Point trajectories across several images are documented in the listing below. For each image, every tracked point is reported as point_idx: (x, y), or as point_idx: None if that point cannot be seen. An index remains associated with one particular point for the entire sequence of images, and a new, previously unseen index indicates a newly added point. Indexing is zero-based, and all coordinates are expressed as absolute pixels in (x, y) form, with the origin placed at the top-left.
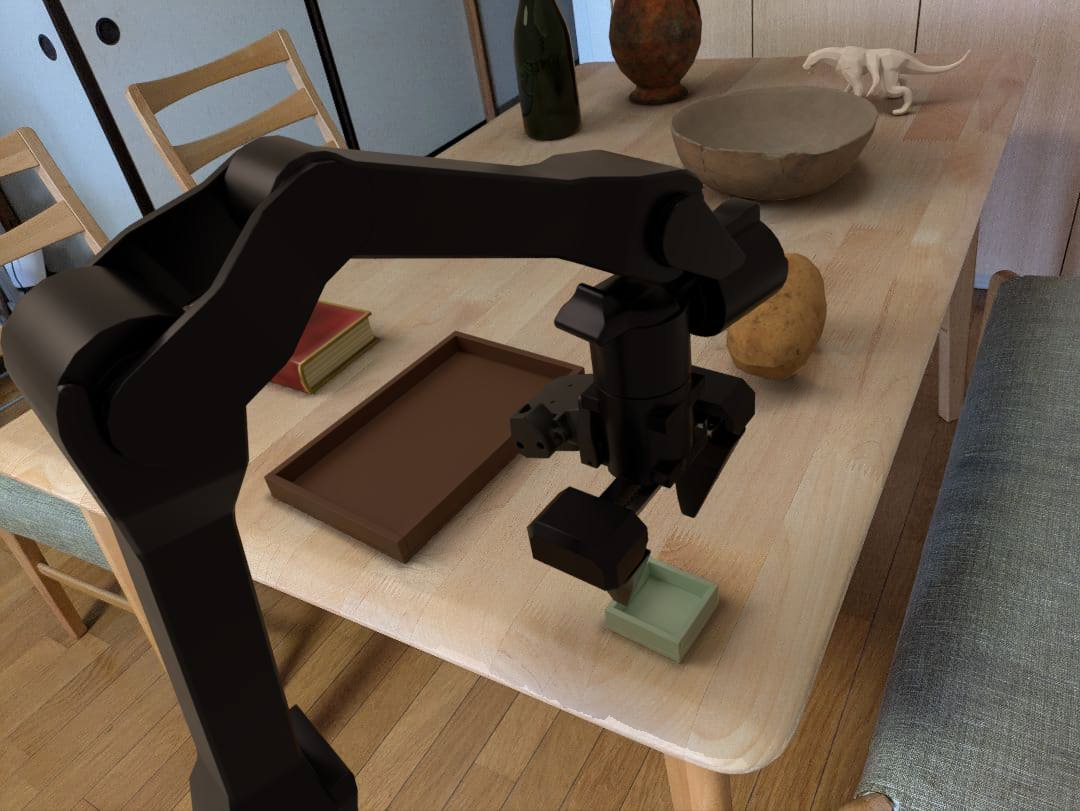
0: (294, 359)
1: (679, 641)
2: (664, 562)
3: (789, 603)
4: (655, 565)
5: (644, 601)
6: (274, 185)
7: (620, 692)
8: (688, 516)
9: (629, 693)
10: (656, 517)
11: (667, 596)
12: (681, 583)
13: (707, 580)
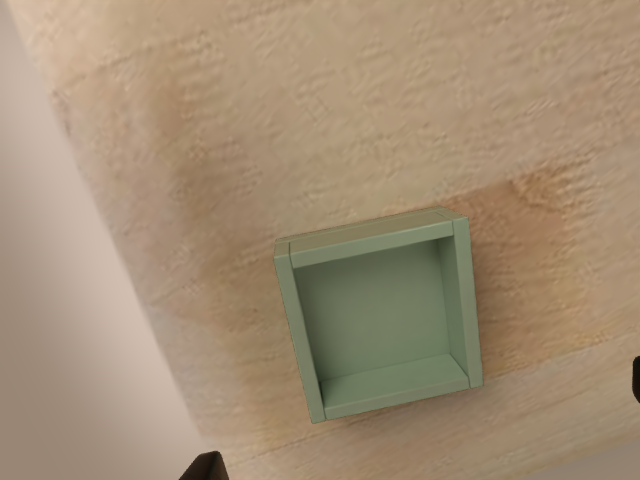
0: None
1: (318, 421)
2: (472, 265)
3: (524, 427)
4: (454, 251)
5: (371, 263)
6: None
7: (190, 353)
8: (632, 377)
9: (201, 365)
10: (593, 99)
11: (410, 288)
12: (450, 303)
13: (480, 366)
